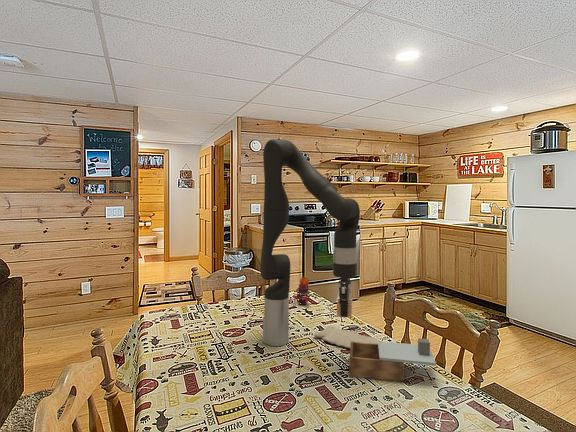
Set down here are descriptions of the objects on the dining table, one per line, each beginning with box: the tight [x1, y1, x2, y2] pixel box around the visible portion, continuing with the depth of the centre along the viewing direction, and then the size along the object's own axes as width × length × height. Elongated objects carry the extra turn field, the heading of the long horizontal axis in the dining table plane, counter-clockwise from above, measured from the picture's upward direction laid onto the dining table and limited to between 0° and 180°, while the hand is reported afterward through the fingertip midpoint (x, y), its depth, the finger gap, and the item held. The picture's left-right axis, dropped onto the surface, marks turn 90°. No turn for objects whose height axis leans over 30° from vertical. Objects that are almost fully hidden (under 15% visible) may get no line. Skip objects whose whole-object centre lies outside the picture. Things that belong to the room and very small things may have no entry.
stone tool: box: [313, 325, 381, 349], centre depth 132 cm, size 13×4×25 cm
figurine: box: [291, 275, 311, 307], centre depth 175 cm, size 8×9×15 cm
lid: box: [378, 337, 437, 366], centre depth 109 cm, size 16×12×5 cm
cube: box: [336, 298, 353, 319], centre depth 112 cm, size 4×4×4 cm
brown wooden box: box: [348, 342, 405, 383], centre depth 112 cm, size 16×12×6 cm
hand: (344, 313), depth 112 cm, fingers closed on cube, 4 cm apart
